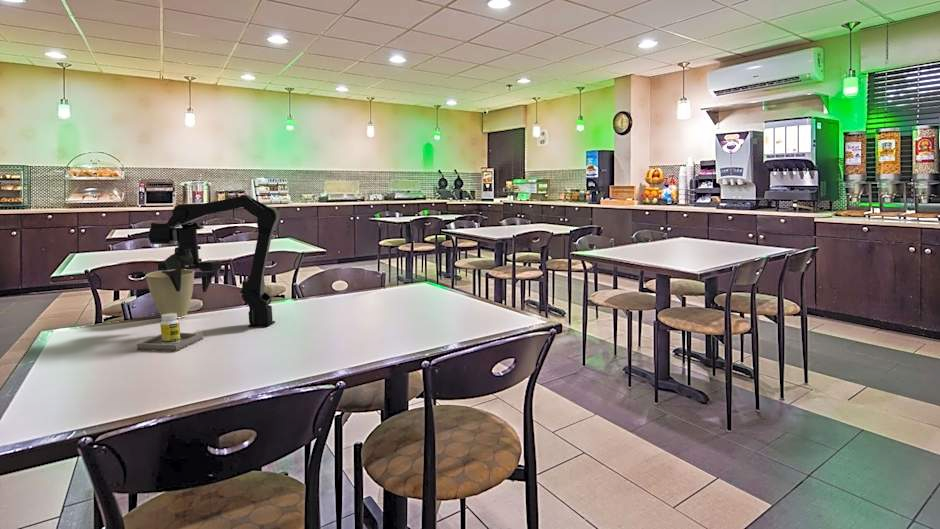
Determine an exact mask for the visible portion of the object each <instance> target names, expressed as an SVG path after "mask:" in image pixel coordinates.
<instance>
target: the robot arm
mask: <svg viewBox="0 0 940 529" xmlns="http://www.w3.org/2000/svg"><path fill="white" fill-rule="evenodd" d="M241 208H243V209H244V210H246V211H247V212H248V213H249V214H251V215H252V216H254V217H255V218H257V220H256V221H257V222H256V223H257V224H256V225H257V232H258V234H257V240H256V245H255V250H254V255H253V258H252V260H253V261H252V265H251V270H250V275H249V277H246V278H245V279H244V280H242V283H241V284H242V285H241V290H240V291H239V293H240V294H241V299H242V300H243V302H244V303H245V304H247V306H248V307H249V309H248V310H249V311H248V322H249V324H247V327H249V328H268V327H269V326H271V325H273V324H275V323H276V321H275V320H273V306H272V305H270V304H271V303H272V300H273V297H272V296H270V295H269V294H268V293H267V292H266V290H265V287H266V286H265V285H266V284H265V271H266V266H267V261H268V256H269V252H270V245H271V241H272V238H273V234H274V231H275V229H276V228H277V226H278V223H279V220H280V219H281V218H280V217H281V214H280V211H279V209H278V208H276V207H275V206H268V205H267V204H265V203H262V202H260V201H258V200H257V199H255V198H253V197H252V196H250V195H249V194H243V195H239V196H236V197H231V198H226V199H220V200H215V201H211V202H210V201H209V202H206V203H183V204H181V203H180V204H178V205H175V206H174V208H173V209H172V212H171V213H172V215H171V217H170V218H169V219H168V221H167V222H151V223H150V228H149V232H148V240H149V242H150V244H152V245H172V244H174V242H175V241H176V242H177V244H176V245H177V247H174V253H173V254H170V256H168V257H167V258H165V259H163V260H160V261H158V263H157V265H156V267H157V271H161V272H162V273H165V274H166V275H168V276H169V278H170V279H171V281H172V283H173V285H174V287H175V289H176V291H177V292H179V291H180V288H181V270H184V269H199V270H200V271H199V272H198V273H199V275H200V277H201V285H202V292H203V293H207V291H208V288H209V286H210V284H211V281H212V279H213V277H214V275H215V273H217V272H218V271H219V270H222V263H221V262H220V260H219V259H218V260H217V259H216V260H215V259H209V260H204V261H202V260H203V259H202V257H201V258H200V255H199V254H200V253H199V250H202V248H201V245H199V242H198V230H202V229H204V226H203V225H202V224H200V222H198V221H196V220H199V219H201V218H204V217H206V216H209V215H212V214H216V213H222V212H228V211H231V210H236V209H241ZM191 222H193V223H191ZM186 223H187V224H186ZM188 223H189V224H188ZM181 225H182V226H181ZM176 226H181V227H176Z"/></svg>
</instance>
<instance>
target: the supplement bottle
mask: <svg viewBox="0 0 940 529" xmlns="http://www.w3.org/2000/svg"><path fill="white" fill-rule="evenodd" d="M160 318H161V322H160V335H161V337H162V343H163V344H175V343H178V342H180V333H181V332H180V331H181V330H180V321H179V319H177V313H167V314H163V315H160Z"/></svg>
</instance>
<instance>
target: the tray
mask: <svg viewBox="0 0 940 529" xmlns="http://www.w3.org/2000/svg"><path fill="white" fill-rule="evenodd" d="M203 337H204V335H203V333H196V332H180V342H178V343H175V344H163V343H162V337H161V334H158V335H156V336H154V337H151V338H149V339H146V340H143V341H141V342H138V343H136V348H137V351H149V350H167V351H166V352H174V351H177V350H179V351H181V350H183V349H185V348H187V347H186V346H188V345H190V346H192V345H194V344H196V343H198V342H197V341H199V342H201V341H203V340H204V338H203ZM202 339H203V340H202ZM200 340H201V341H200ZM195 342H196V343H195ZM193 343H194V344H193ZM191 344H192V345H191ZM184 347H185V348H184ZM188 347H189V346H188ZM182 348H183V349H182ZM180 349H181V350H180ZM177 352H178V351H177Z"/></svg>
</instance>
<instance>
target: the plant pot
mask: <svg viewBox="0 0 940 529" xmlns="http://www.w3.org/2000/svg"><path fill="white" fill-rule="evenodd" d="M161 271H162V270H157V271H152V272H148V273H146V274H145V279H146V282H147V286H148V290H149V292H150V295H151V298H152V301H153V303H154V306H155V307H156V309H157V311H158V313H159V315H160V316H161V315H163V314H167V313H177V317H182V316H185V315H186V316H187V315H188V312H189V308H190V304H191V300H192V296H193V289H194V283H195V282H194V281H195V270H193V269H181V288H180V291H179V292H177V291H176V289H175V287H174V285H173V283H172V281H171V279H170V278H169V276H168V275H166V274H165V273H162V272H161Z"/></svg>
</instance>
